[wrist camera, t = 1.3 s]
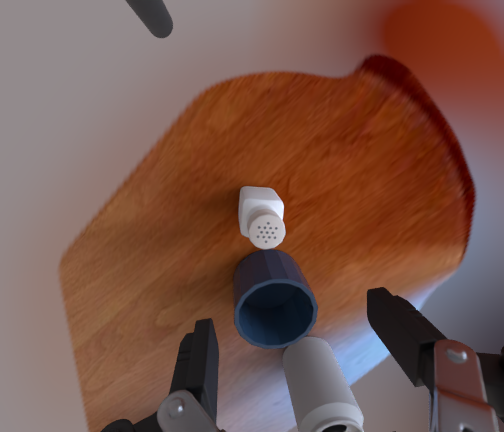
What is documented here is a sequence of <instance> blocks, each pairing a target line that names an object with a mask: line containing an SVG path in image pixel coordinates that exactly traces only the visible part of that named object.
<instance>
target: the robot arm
mask: <svg viewBox="0 0 504 432" xmlns="http://www.w3.org/2000/svg"><path fill="white" fill-rule="evenodd" d="M367 317H368V321H369V323H370V325H371V327H372V328H373V330H374V331H375V332H376V334H377V335H378V337H379V338H380V339H381V341H382V342H383V343H384V345H385V346H386V348H387V349H388V350H389V352H390V353H391V354H392V356H393V357H394V358H395V360H396V361H397V363H398V364H399V365H400V367H401V368H402V370H403V371H404V372H405V374H406V375H407V376H408V378H409V379H410V381H411V382H412V383H413V385H414V386H415V387H419V386H424V385H426V387H427V388H428V389H429V432H500V431H499V427H498V422H497V417H496V416H498V417H499V418H500V419H501V420H502V422H503V423H504V347H503V348H502V350H501V354H500V355H499V354H487V353H477V352H474V351H473V350H472V349H471V348H470V347H468V346H467V345H465V344H463V343H461V342H458V341H455V340H449V339H447V338H446V337H445V336H444V335H443V334H442V333H441V332H440V331H439V330H438V329H437V328H436V327H434V325H433V324H432V323H430V322H429V321H428V320H427V319H426V318H425V317H424V316H422V314H421V313H420V312H419V311H418V310H416V308H415V307H414V306H413V305H412V304H411V303H409V302H408V301H407V300H405V299H403V298H401V297H399V296H398V295H396V296H393V295H392V294H391V293H390V292H389V291H388V290H387V289H386V288H384V287H380V288H375V289H369V290H368V291H367ZM178 353H179V354H178V356H177V362H176V365H175V370H174V374H173V379H172V383H171V388H170V392H169V395H168V396H167V397H166V398H165V399H164V400H163V402H162V403H161V404H160V406H159V409H158V411H157V412H155V413H154V414H153V415H151V416H149V417H147V418H145V419H143V420H142V421H140V422H138V423H136V424H134V425H133V424H132V423H131V422H130V421H129V420H127V419H120V420H116V421H114V422H112V423H110V424H109V425H107V426H106V427H105V428H104V429H103V430H102V431H101V432H226V431H225V430H224V429H222V430H219V429H218V427H217V426H216V415H217V389H218V364H219V349H218V342H217V338H216V333H215V329H214V325H213V321H212V319H211V318H208V319H203V320H197V321H196V324H195V330H194V332H193V333H187V334H186V335H185V337H184V338H183V340H182V341H181V343H180V347H179V352H178Z"/></svg>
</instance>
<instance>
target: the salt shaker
mask: <svg viewBox="0 0 504 432" xmlns="http://www.w3.org/2000/svg"><path fill="white" fill-rule="evenodd" d="M283 209H284V205H283V202H282V200H281V199H280V198H279V196H278V195H277V194H276V192H275V191H274V190H273V189H271V188H264V187H252V186H244V187H242V188H241V190H240V199H239V211H238V216H239V225H240V231H241V234H242V235H244V236H245V237H249V239H250V241H251V242H252V243H253V244H254V245H255V246H256V247H259V248H262V249H270V248H275V247H276V246H277V245H278V244H280V243H281V242H282V240H283V238H284V236H285V234H286V233H285V225H284V223H283V221H282V219H283Z"/></svg>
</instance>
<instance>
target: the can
mask: <svg viewBox="0 0 504 432" xmlns="http://www.w3.org/2000/svg"><path fill="white" fill-rule="evenodd" d="M282 362H283V368H284V372H285V376H286V380H287V385H288V389H289V393H290V397H291V401H292V406H293V410H294V414H295V418H296V423H297V427H298V431H299V432H364V431H363V428H362V426H363V415H362V413H361V410H360V408H359V406H358V404H357V402H356V400H355V398H354V396H353V394H352V392H351V389H350V387H349V385H348V383H347V381H346V379H345V377H344V375H343V372H342V370H341V368H340V366H339V364H338V362H337V360H336V358H335V356H334V353H333V351H332V349H331V347H330V345H329V344H328V343H327V342H326V341H325V340H322V339H320V338H317V337H303V338H302V339H301V340H299V341H298V342H297V343H295V344H292V345H289V346H288V347H287V349H286V350H285V351H284V354H283V357H282Z"/></svg>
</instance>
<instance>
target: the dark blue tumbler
mask: <svg viewBox="0 0 504 432" xmlns="http://www.w3.org/2000/svg"><path fill="white" fill-rule="evenodd" d="M233 304H234V324H235V326H236V328H237V330H238V332H239V334H240V336H241V337H242V338H244V339H245V340H246V341H247V342H249V343H250V344H251V345H254V346H257V347H261V348H264V349H278V348H284V347H286V346H289V345H292V344H295V343H297V342H298V341H299V340H301V339H302V338H303V337H305V336H306V335H307V334H308V333H309V332H310V330H311V329H312V327H313V325H314V324H315V322H316V318H317V311H318V306H317V303H316V300H315V297H314V294H313V293H312V291H311V289H310V287H309V285H308V283H307V281H306V279H305V277H304V275H303V273H302V271H301V269H300V268H299V266H298V264H297V263H296V262H295V261H294V259H293V258H292V257H290V256H289V255H288V254H286V253H284V252H281V251H278V250H272V249H266V250H260V251H257V252H254V253H252V254H250V255H248V256H247V257H246V258H244V259H243V260H242V261H241V262H240V264H239V265H238V266H237V268H236V270H235V273H234V276H233Z"/></svg>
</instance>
